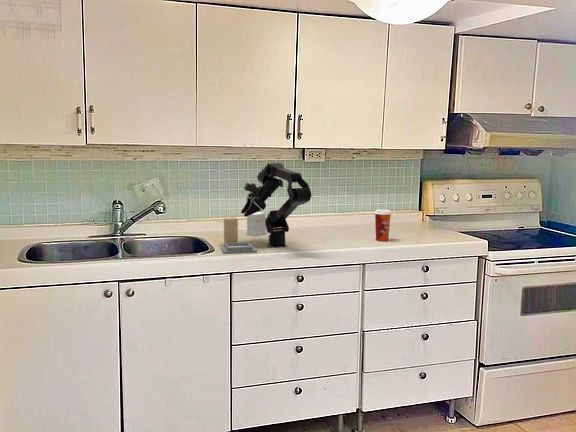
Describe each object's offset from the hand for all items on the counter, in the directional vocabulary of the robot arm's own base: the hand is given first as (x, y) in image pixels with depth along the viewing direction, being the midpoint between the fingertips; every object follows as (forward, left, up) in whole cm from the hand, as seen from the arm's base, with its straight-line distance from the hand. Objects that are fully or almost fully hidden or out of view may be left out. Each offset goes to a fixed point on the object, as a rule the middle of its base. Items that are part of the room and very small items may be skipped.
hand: (243, 214), depth 249 cm
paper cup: (-65, +2, -14) cm, 66 cm away
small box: (-10, -23, -14) cm, 29 cm away
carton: (+5, 0, -14) cm, 15 cm away
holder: (+3, +11, -14) cm, 18 cm away
